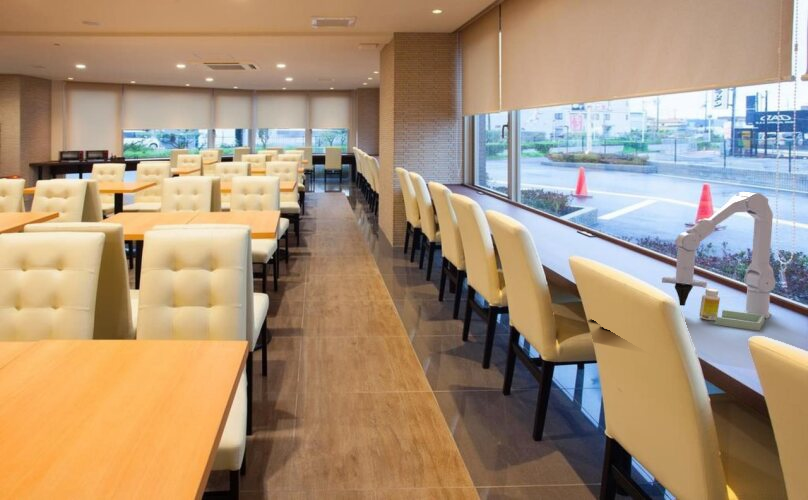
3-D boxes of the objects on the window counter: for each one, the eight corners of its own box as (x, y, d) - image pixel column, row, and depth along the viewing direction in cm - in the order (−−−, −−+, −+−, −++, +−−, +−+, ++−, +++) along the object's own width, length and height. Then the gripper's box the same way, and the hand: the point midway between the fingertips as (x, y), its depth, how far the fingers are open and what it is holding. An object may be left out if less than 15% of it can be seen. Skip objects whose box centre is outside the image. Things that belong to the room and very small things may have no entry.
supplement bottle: (720, 320, 224) (724, 292, 222) (705, 320, 223) (709, 291, 221) (710, 315, 229) (714, 287, 227) (695, 315, 228) (700, 287, 226)
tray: (722, 316, 229) (722, 309, 229) (764, 322, 222) (764, 315, 221) (715, 324, 219) (715, 317, 218) (758, 330, 211) (759, 323, 211)
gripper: (660, 266, 229) (658, 304, 231) (705, 271, 221) (702, 310, 223) (665, 263, 235) (663, 300, 237) (709, 268, 227) (706, 306, 229)
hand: (682, 305), depth 230 cm, fingers closed
